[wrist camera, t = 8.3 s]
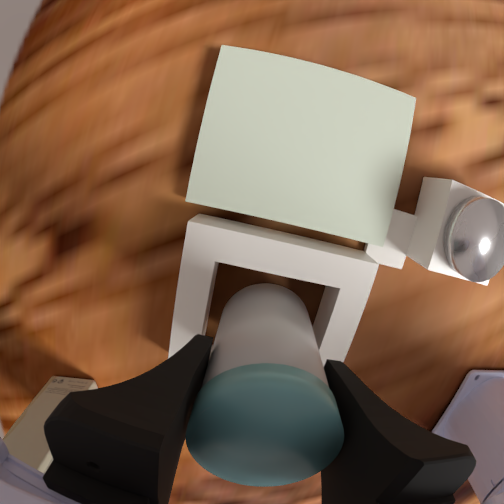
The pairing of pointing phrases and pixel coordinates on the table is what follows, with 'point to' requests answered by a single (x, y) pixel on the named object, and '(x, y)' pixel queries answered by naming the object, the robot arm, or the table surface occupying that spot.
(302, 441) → the cartridge
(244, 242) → the holder
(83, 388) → the skincare box
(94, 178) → the table surface
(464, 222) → the plunger
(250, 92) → the pad
